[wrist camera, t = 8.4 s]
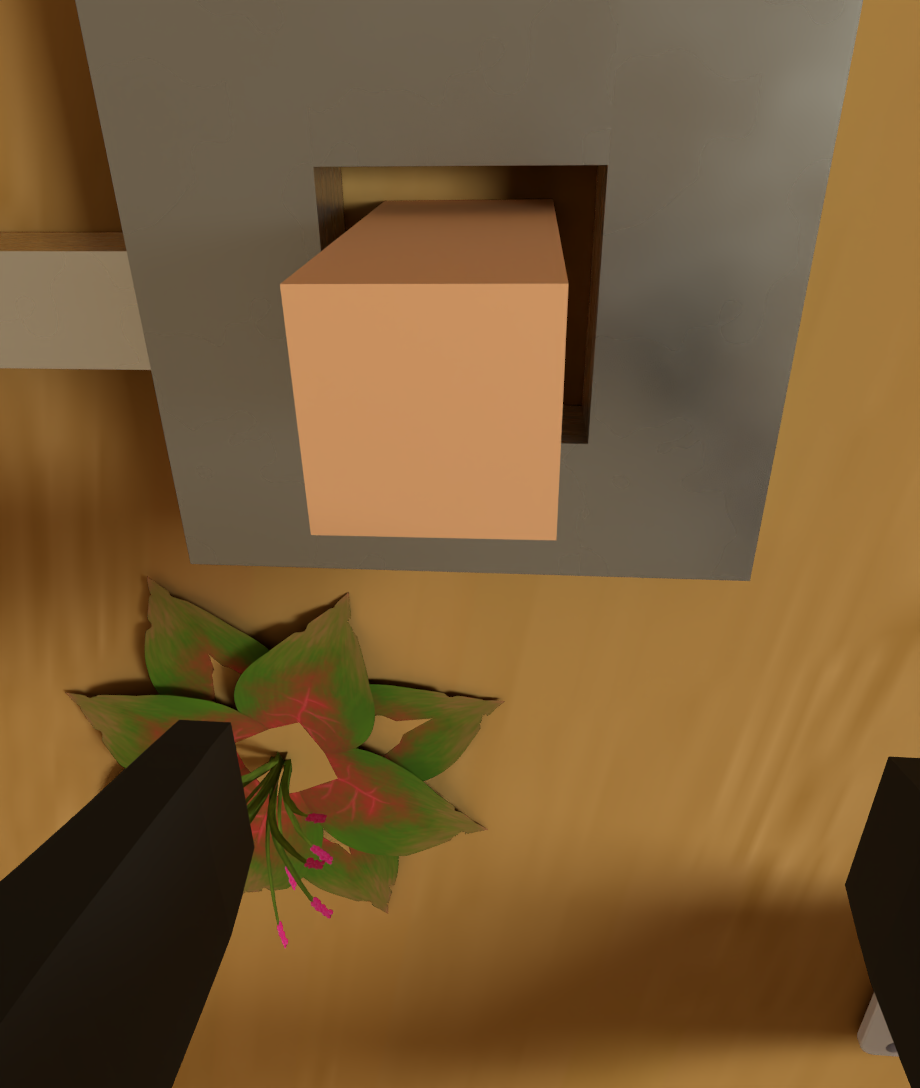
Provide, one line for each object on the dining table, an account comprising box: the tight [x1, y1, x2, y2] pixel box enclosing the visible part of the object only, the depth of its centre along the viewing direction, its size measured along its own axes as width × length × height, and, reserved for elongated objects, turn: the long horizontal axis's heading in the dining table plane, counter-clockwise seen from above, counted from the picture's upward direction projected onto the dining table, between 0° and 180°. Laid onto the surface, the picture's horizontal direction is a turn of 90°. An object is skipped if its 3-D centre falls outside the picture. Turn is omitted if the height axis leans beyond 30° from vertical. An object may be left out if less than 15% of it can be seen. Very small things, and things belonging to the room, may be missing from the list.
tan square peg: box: [280, 199, 568, 540], centre depth 12 cm, size 3×3×7 cm
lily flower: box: [65, 576, 504, 948], centre depth 20 cm, size 12×12×5 cm
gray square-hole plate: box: [0, 0, 863, 581], centre depth 14 cm, size 16×10×2 cm, turn 91°
